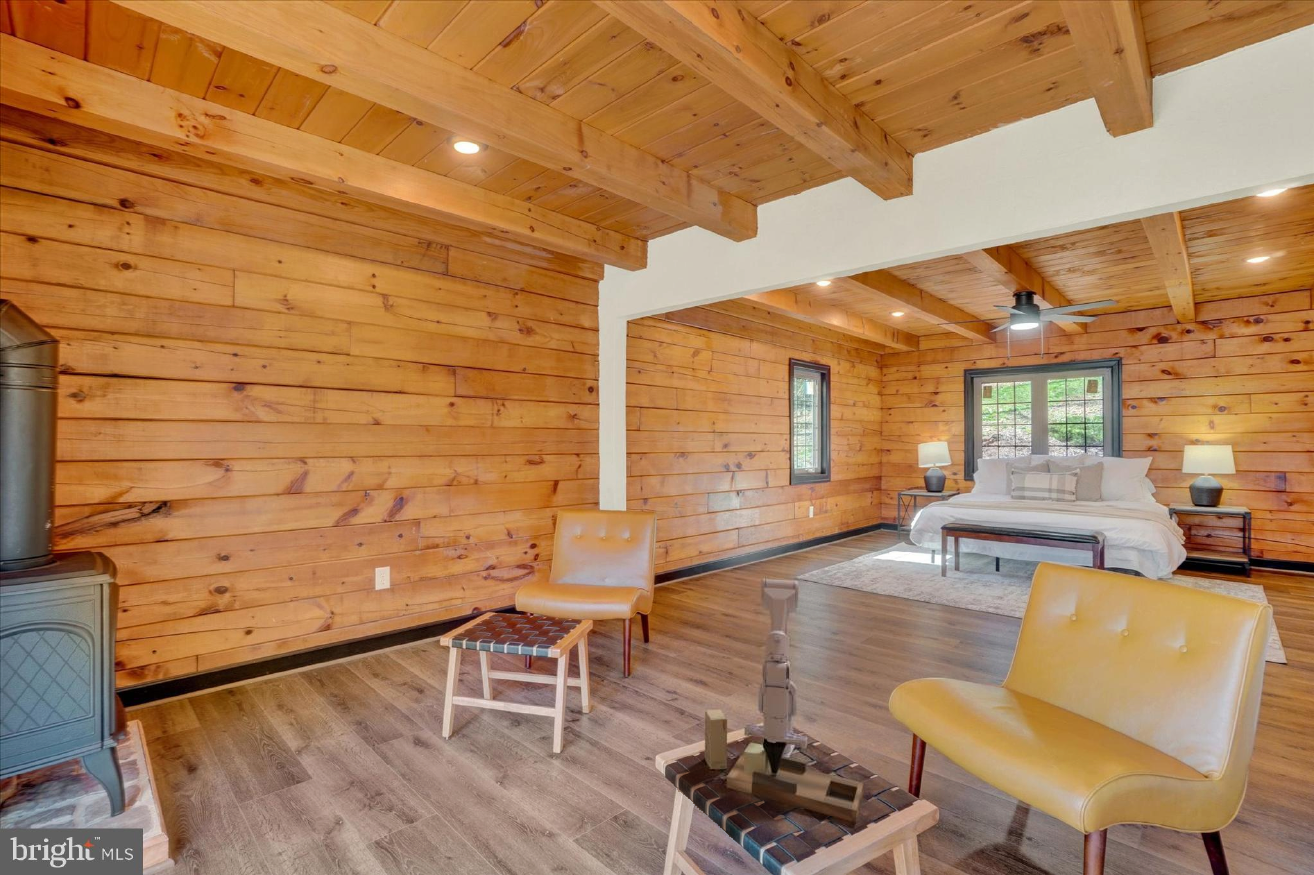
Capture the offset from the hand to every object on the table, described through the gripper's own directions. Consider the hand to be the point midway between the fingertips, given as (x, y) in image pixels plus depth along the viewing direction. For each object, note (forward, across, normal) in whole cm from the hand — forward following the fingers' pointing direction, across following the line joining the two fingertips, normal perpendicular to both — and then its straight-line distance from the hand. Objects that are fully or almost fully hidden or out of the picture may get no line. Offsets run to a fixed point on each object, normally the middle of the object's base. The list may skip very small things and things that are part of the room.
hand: (774, 771), depth 143 cm
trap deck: (+3, +5, 0) cm, 6 cm away
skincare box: (+3, -16, +3) cm, 16 cm away
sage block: (+1, -4, 0) cm, 4 cm away
